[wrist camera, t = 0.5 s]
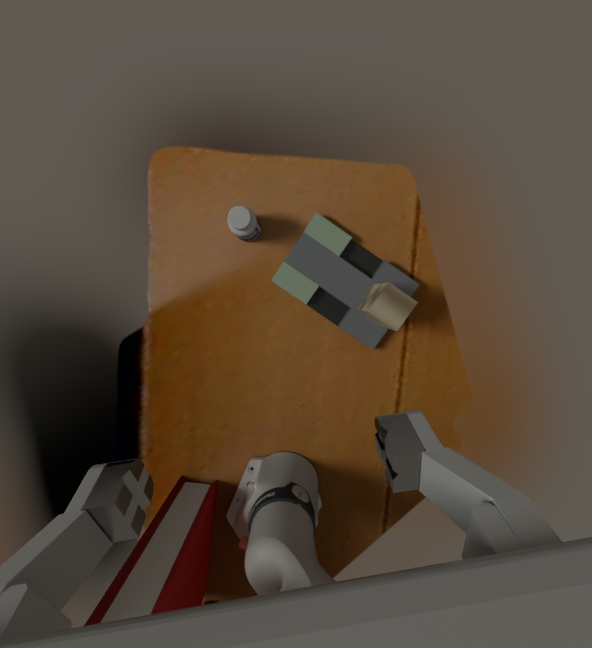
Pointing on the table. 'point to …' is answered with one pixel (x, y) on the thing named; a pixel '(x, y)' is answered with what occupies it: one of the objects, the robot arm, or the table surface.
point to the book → (165, 559)
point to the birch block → (387, 305)
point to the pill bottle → (244, 223)
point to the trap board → (338, 278)
